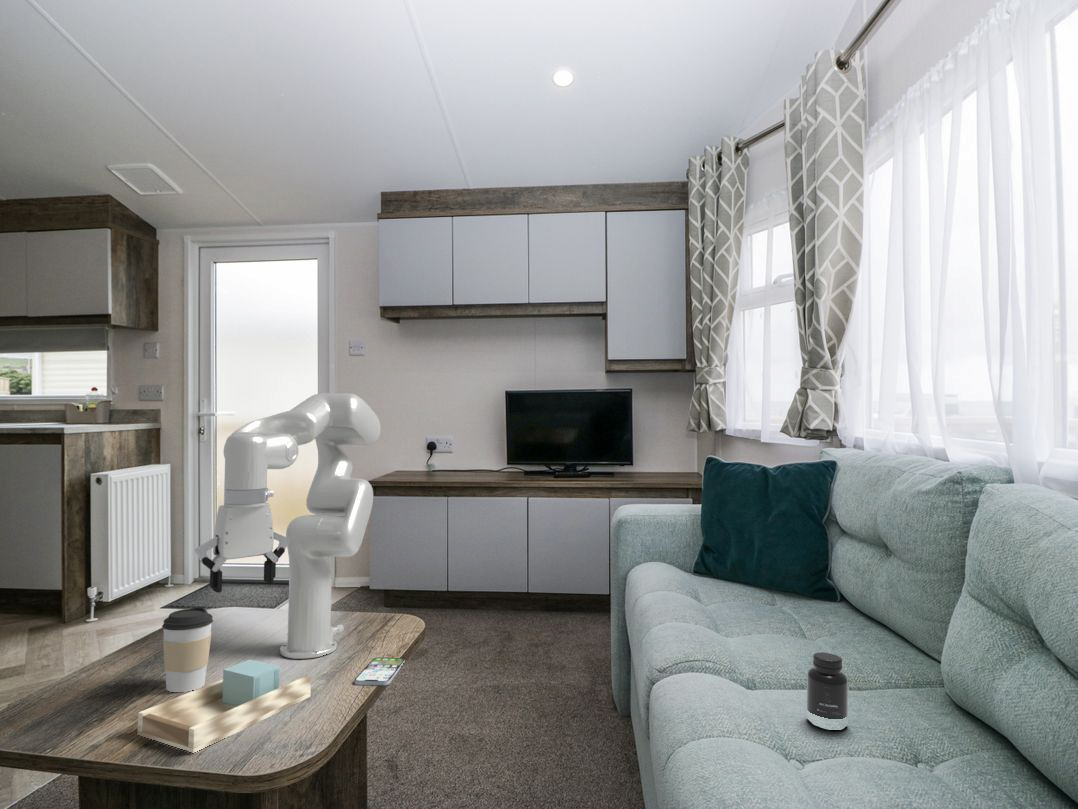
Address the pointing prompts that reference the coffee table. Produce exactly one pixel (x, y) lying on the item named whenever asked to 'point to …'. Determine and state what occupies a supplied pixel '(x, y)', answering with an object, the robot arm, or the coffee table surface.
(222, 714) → the bay
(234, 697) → the light blue block
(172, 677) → the coffee cup
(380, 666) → the smartphone
